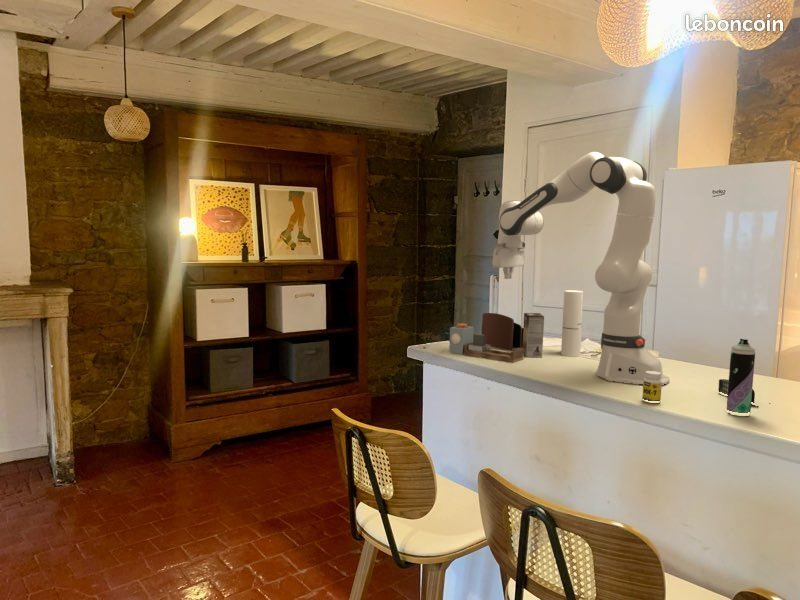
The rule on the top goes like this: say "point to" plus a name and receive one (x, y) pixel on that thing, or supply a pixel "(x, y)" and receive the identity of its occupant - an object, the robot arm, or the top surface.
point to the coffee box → (533, 335)
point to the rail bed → (496, 355)
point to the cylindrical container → (572, 323)
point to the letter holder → (502, 332)
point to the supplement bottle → (652, 386)
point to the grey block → (460, 339)
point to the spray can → (741, 377)
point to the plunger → (461, 325)
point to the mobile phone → (724, 388)
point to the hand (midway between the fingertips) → (508, 278)
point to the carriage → (479, 344)
